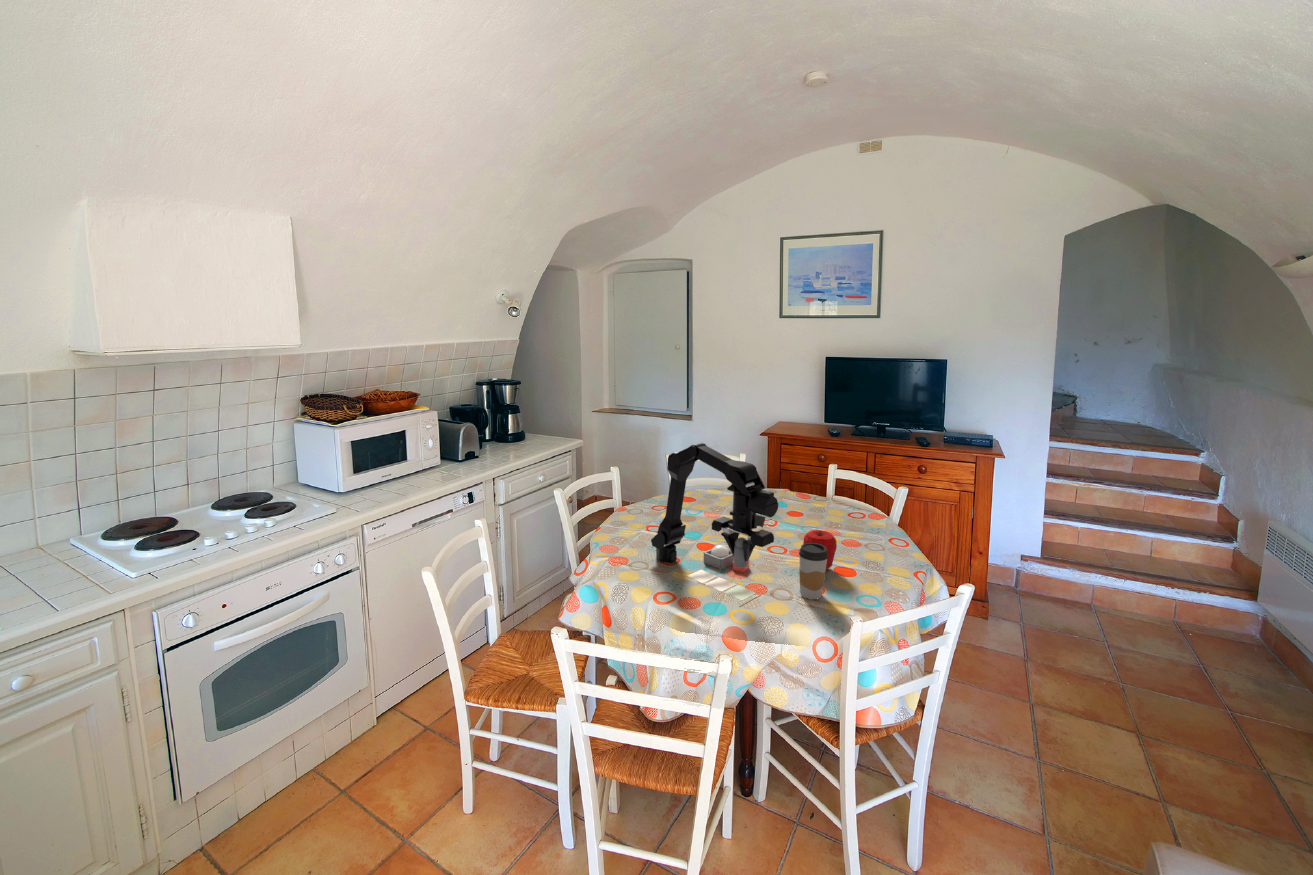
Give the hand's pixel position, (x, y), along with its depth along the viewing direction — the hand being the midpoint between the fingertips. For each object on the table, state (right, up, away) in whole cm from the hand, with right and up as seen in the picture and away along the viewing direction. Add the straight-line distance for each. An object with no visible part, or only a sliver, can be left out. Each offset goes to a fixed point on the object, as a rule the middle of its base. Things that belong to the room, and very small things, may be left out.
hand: (740, 558), depth 175 cm
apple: (+28, -8, +21) cm, 36 cm away
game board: (-5, -10, +8) cm, 14 cm away
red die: (+3, -8, +18) cm, 20 cm away
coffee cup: (+21, -12, +4) cm, 25 cm away
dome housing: (-4, -7, +23) cm, 25 cm away
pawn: (0, -2, 0) cm, 2 cm away
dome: (-4, -6, +23) cm, 24 cm away
